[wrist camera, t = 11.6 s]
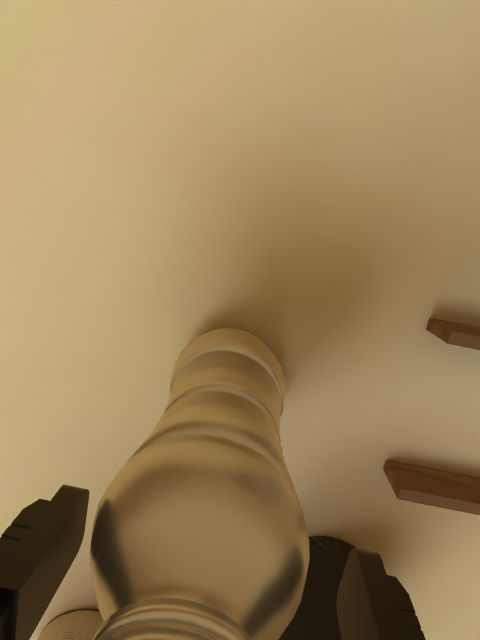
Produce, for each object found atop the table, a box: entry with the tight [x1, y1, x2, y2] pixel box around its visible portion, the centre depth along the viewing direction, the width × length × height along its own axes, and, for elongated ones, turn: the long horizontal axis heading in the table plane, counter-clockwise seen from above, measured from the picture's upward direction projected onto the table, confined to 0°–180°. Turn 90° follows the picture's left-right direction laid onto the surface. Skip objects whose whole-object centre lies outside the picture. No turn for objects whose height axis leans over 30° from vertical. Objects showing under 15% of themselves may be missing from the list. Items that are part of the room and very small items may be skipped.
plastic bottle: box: [90, 328, 310, 640], centre depth 17 cm, size 6×7×20 cm
